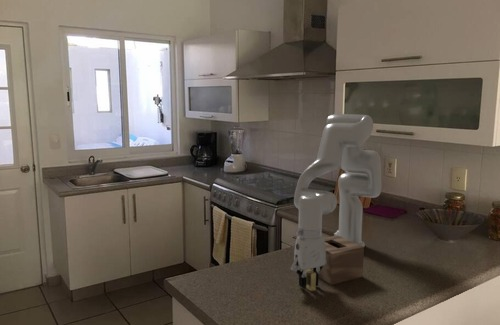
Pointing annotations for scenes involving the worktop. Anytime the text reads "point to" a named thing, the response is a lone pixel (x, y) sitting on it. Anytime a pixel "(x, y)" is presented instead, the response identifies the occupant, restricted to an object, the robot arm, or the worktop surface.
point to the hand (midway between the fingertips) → (308, 285)
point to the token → (310, 280)
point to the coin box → (342, 260)
